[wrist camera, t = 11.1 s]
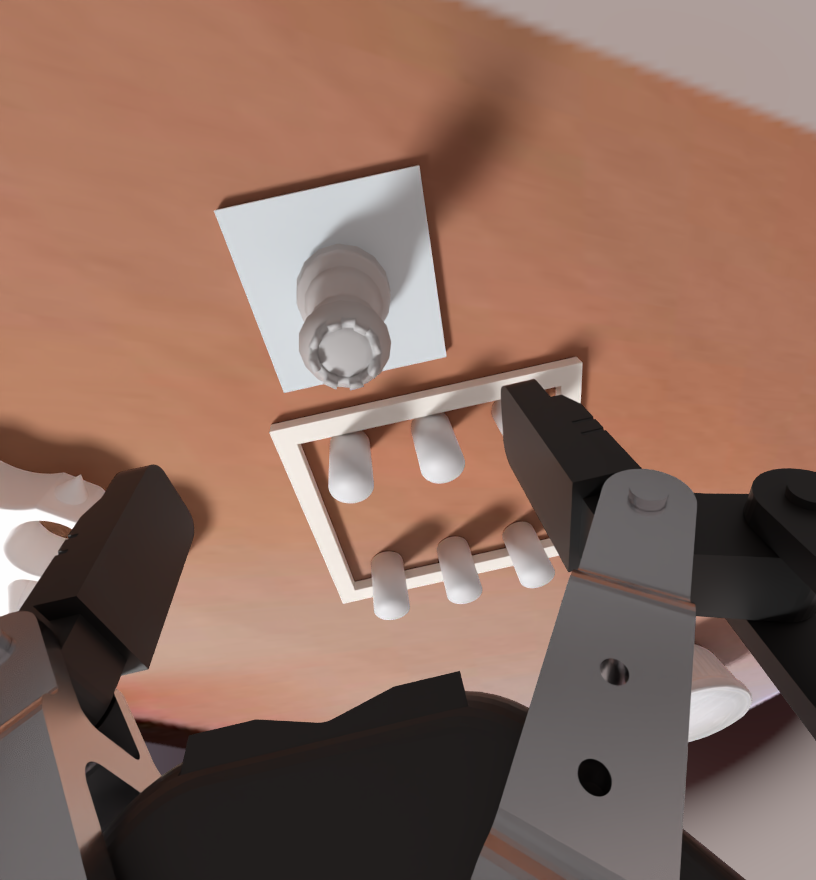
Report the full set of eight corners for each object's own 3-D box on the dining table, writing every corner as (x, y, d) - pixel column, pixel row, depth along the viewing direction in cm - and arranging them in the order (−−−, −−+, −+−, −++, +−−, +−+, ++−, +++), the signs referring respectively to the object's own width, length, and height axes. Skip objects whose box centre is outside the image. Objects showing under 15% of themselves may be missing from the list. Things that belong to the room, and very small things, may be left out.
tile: (285, 388, 25) (284, 392, 24) (216, 209, 20) (214, 210, 19) (444, 353, 25) (446, 356, 24) (417, 165, 20) (419, 165, 19)
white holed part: (-130, 584, 29) (-178, 395, 22) (170, 623, 35) (204, 481, 28) (-179, 631, 26) (-252, 431, 20) (155, 664, 32) (189, 518, 25)
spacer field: (343, 594, 35) (343, 642, 32) (271, 424, 26) (261, 466, 23) (569, 544, 35) (593, 586, 32) (576, 356, 26) (610, 388, 23)
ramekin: (634, 638, 44) (666, 693, 40) (734, 631, 46) (776, 682, 41) (599, 698, 50) (624, 751, 46) (689, 689, 52) (721, 739, 48)
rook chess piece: (386, 237, 21) (408, 284, 14) (392, 331, 23) (414, 407, 17) (288, 245, 20) (263, 296, 14) (305, 339, 23) (291, 420, 16)
